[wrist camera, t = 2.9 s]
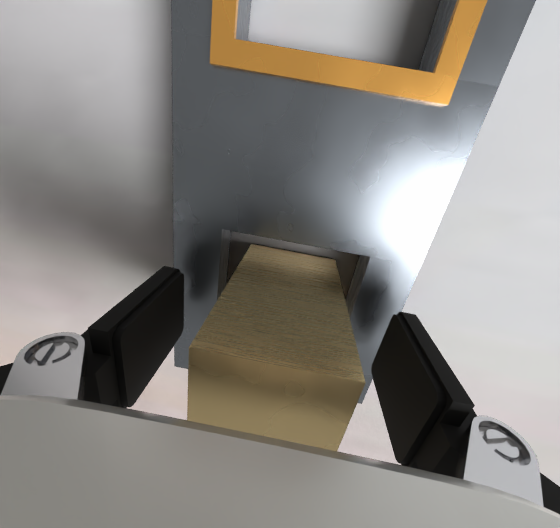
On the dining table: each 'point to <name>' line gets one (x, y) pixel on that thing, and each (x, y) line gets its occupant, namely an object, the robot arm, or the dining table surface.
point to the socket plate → (324, 150)
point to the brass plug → (278, 352)
